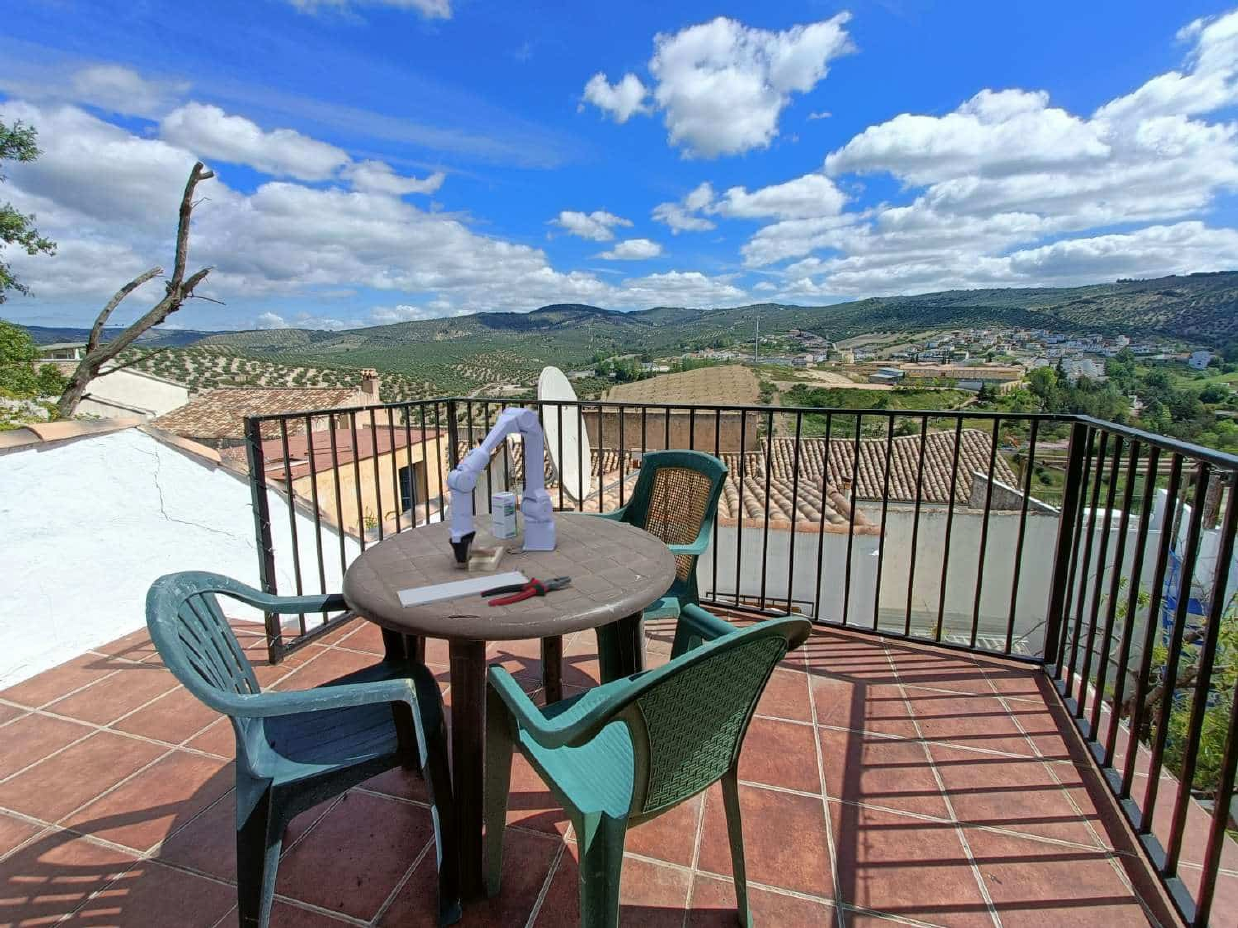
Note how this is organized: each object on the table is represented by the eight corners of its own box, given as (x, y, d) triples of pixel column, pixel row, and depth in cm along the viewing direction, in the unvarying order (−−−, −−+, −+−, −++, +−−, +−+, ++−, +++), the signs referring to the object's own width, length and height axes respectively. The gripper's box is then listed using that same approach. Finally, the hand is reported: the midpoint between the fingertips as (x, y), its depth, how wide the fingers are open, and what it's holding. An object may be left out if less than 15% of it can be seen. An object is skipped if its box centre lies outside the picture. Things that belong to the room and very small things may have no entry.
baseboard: (395, 593, 142) (403, 611, 132) (394, 582, 142) (402, 599, 131) (515, 573, 157) (530, 587, 146) (515, 563, 156) (530, 577, 146)
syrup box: (504, 539, 186) (503, 496, 183) (492, 536, 189) (491, 493, 187) (517, 535, 190) (516, 493, 188) (505, 532, 194) (504, 490, 191)
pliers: (489, 600, 132) (576, 578, 142) (479, 587, 140) (562, 568, 150) (490, 612, 133) (576, 590, 143) (480, 599, 140) (563, 578, 150)
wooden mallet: (496, 562, 164) (496, 542, 163) (494, 567, 160) (493, 546, 159) (457, 562, 163) (456, 542, 162) (454, 567, 159) (453, 546, 158)
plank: (503, 554, 171) (503, 546, 170) (494, 570, 157) (494, 561, 156) (480, 554, 170) (479, 546, 170) (468, 570, 157) (468, 561, 156)
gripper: (454, 506, 166) (456, 551, 168) (439, 519, 152) (441, 568, 154) (478, 506, 166) (480, 551, 168) (466, 519, 152) (468, 568, 154)
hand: (463, 559), depth 161 cm, fingers closed on wooden mallet, 4 cm apart
